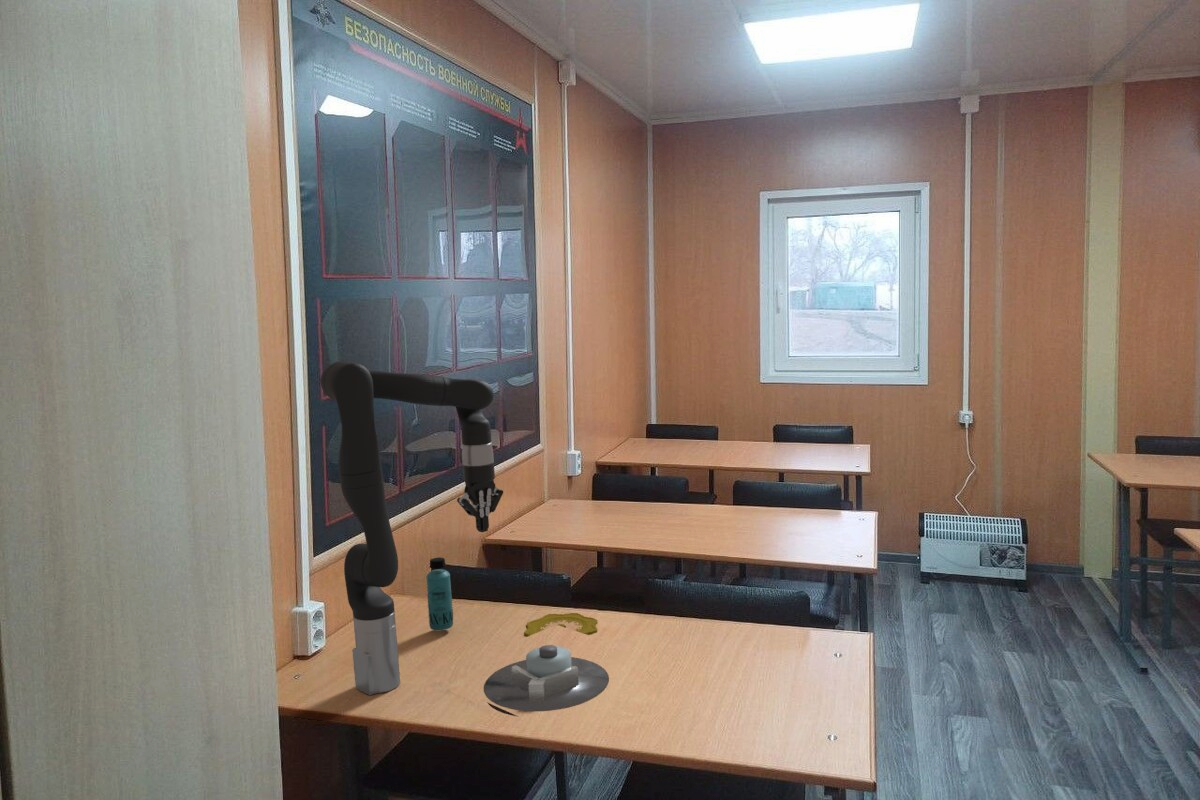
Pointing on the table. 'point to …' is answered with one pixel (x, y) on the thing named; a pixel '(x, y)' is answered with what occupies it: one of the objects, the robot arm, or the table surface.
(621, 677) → the table surface
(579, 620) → the decorative medallion
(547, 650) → the cover
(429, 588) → the beverage bottle
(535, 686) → the turntable
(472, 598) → the table surface
